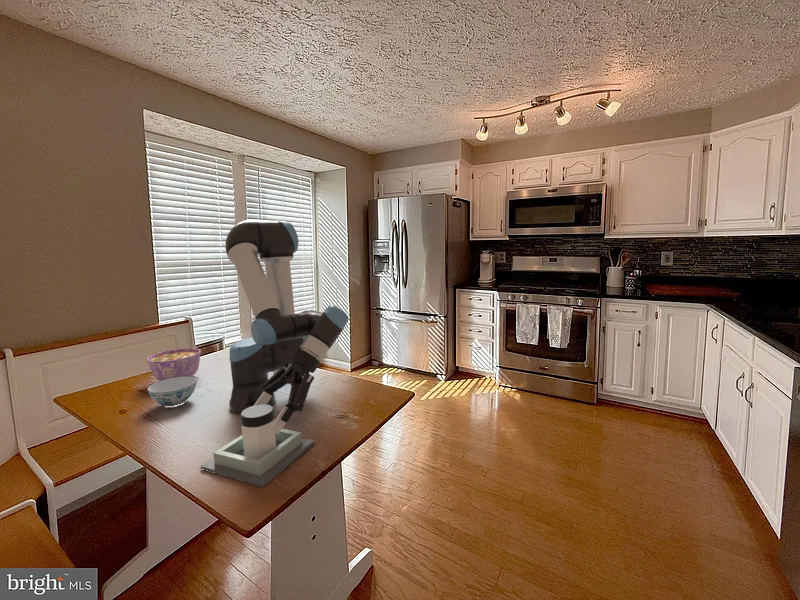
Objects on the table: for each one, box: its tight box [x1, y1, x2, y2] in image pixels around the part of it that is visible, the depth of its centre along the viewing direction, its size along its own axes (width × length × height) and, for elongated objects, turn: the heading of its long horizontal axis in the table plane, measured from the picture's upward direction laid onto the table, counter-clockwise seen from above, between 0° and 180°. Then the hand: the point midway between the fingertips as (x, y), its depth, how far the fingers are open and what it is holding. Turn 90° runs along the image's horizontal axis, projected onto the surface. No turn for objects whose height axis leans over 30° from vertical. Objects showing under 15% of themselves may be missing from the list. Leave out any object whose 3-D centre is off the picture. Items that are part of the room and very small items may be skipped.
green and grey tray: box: [200, 428, 315, 488], centre depth 98 cm, size 20×20×4 cm
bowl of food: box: [146, 347, 202, 382], centre depth 158 cm, size 20×20×12 cm
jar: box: [240, 404, 277, 460], centre depth 97 cm, size 9×8×12 cm
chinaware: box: [147, 376, 197, 406], centre depth 134 cm, size 15×15×8 cm
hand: (262, 422), depth 97 cm, fingers open, 13 cm apart
